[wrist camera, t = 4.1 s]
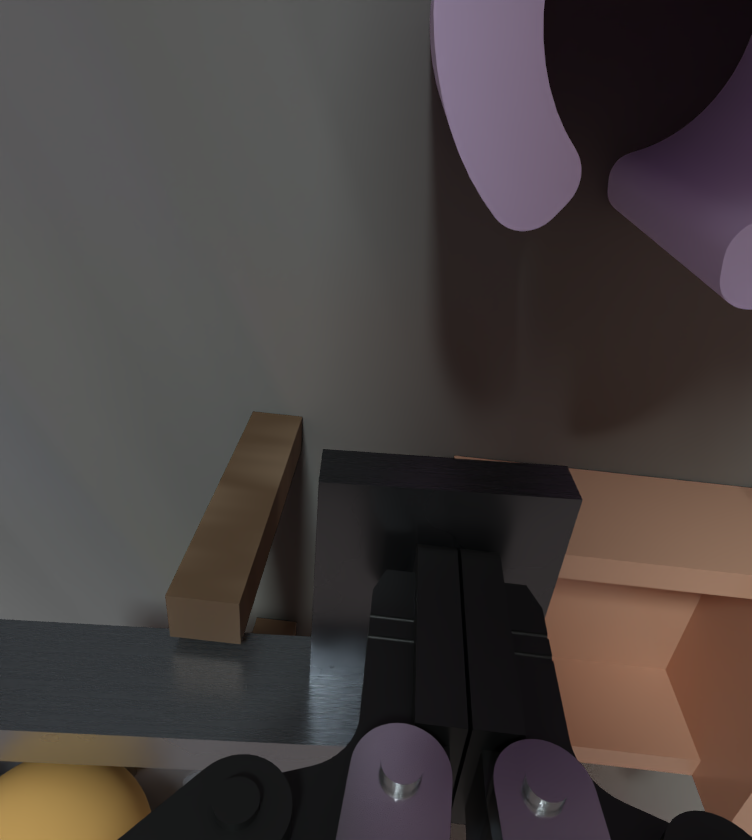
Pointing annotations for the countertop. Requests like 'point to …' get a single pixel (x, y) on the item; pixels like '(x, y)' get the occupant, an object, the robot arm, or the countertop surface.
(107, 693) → the tipping track
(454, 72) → the clip
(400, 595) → the robot arm
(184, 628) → the stand
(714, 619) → the cup
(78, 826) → the ball
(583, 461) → the countertop surface
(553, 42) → the countertop surface
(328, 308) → the countertop surface
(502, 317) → the countertop surface
